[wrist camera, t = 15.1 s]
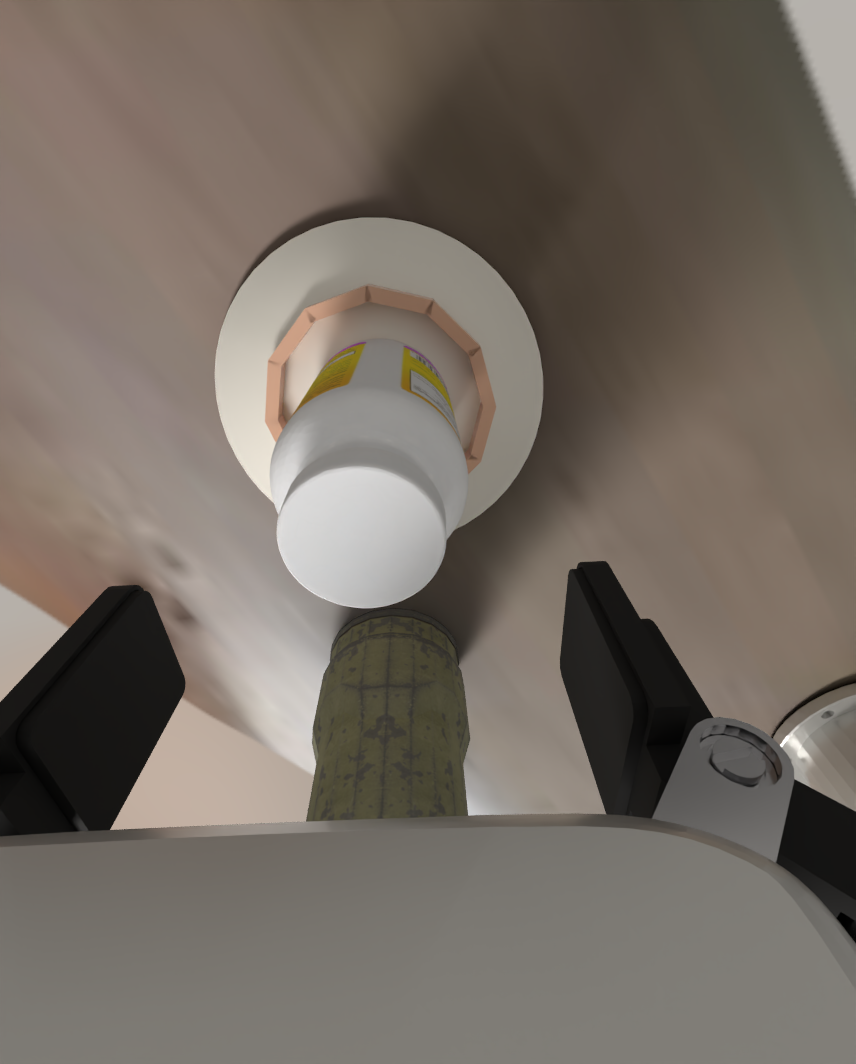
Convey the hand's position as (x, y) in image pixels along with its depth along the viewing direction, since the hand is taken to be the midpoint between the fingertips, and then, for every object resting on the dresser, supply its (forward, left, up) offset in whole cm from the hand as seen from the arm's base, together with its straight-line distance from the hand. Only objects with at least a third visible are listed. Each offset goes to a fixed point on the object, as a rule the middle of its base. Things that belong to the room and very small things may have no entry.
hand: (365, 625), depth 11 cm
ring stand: (+1, 0, -16) cm, 16 cm away
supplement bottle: (+1, 0, -16) cm, 16 cm away
